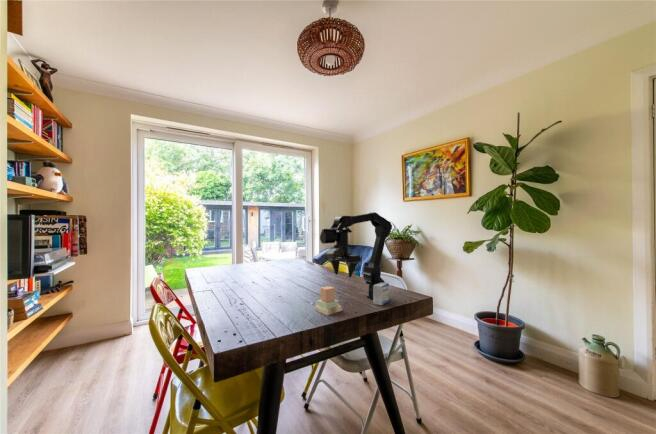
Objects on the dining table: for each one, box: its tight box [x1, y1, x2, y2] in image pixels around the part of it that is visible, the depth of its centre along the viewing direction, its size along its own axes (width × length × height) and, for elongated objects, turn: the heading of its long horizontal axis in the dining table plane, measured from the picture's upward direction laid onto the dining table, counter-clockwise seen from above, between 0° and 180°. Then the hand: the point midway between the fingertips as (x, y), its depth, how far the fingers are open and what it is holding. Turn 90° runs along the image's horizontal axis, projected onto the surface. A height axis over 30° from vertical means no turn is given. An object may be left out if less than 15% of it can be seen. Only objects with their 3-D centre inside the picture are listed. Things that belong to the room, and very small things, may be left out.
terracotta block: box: [319, 285, 336, 303], centre depth 112 cm, size 4×4×6 cm
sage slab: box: [316, 298, 340, 310], centre depth 112 cm, size 6×6×2 cm
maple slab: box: [315, 304, 343, 316], centre depth 112 cm, size 8×8×2 cm
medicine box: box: [372, 281, 390, 306], centre depth 120 cm, size 8×4×9 cm, turn 142°
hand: (343, 275), depth 121 cm, fingers open, 9 cm apart
